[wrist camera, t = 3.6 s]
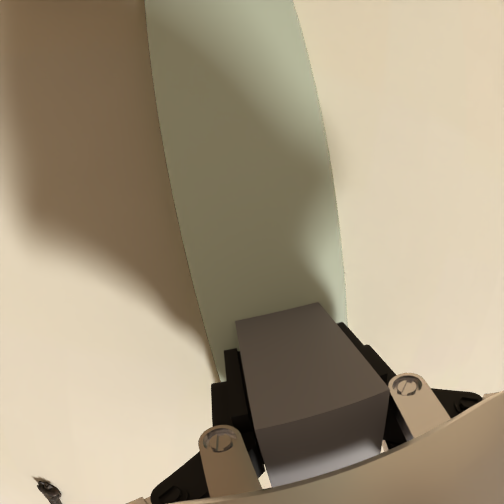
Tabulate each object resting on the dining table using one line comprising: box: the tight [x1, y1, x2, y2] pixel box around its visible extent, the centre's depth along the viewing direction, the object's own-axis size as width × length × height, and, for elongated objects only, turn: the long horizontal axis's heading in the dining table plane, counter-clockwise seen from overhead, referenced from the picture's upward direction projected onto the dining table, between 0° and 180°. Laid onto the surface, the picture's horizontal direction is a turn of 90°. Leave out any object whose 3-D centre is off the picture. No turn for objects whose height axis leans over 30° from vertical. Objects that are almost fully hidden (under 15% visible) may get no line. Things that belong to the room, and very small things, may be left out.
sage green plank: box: [144, 0, 390, 487], centre depth 8 cm, size 6×22×7 cm, turn 10°
